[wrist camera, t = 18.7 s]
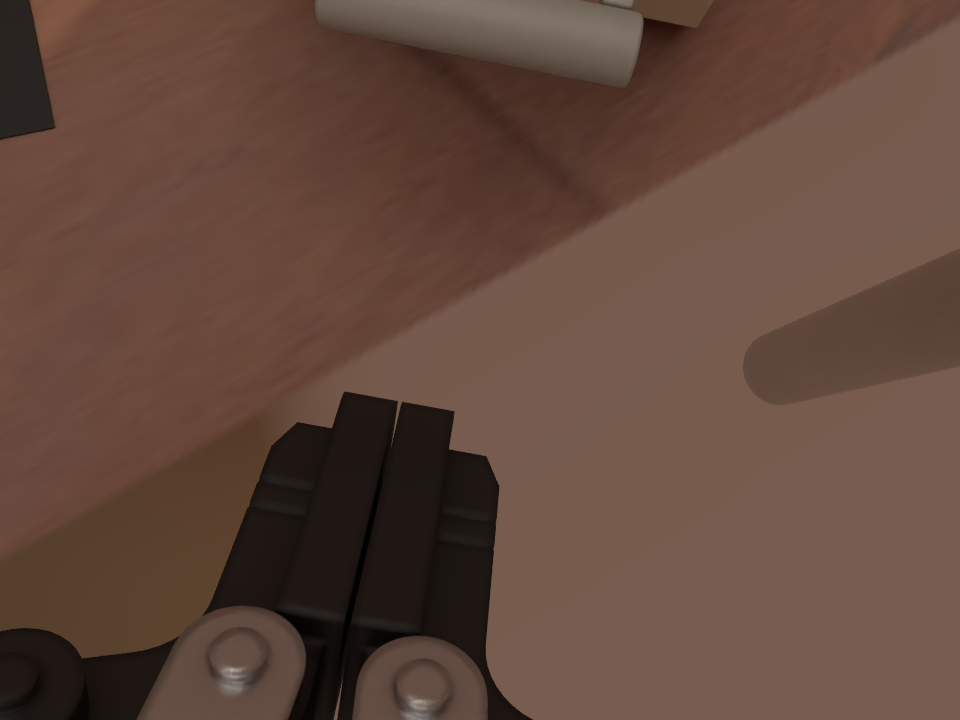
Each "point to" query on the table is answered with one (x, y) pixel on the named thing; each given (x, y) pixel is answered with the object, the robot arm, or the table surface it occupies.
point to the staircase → (21, 73)
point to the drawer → (518, 30)
